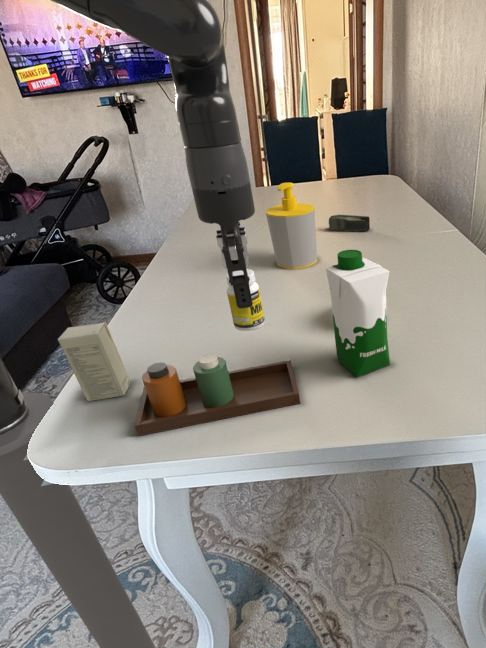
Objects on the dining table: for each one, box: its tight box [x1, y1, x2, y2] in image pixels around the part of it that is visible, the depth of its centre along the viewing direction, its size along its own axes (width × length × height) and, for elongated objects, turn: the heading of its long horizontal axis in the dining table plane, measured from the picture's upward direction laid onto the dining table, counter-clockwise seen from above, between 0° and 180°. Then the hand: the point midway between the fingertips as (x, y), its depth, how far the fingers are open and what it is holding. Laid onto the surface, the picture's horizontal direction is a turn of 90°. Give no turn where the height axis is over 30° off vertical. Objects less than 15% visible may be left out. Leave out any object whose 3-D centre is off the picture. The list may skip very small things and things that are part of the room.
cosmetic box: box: [57, 321, 131, 402], centre depth 78 cm, size 6×4×12 cm
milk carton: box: [325, 249, 391, 378], centre depth 80 cm, size 9×9×20 cm
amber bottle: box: [141, 362, 186, 417], centre depth 73 cm, size 5×5×8 cm
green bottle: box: [192, 353, 234, 407], centre depth 75 cm, size 5×5×8 cm
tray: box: [134, 359, 301, 437], centre depth 77 cm, size 25×11×2 cm, turn 105°
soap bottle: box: [265, 182, 318, 270], centre depth 127 cm, size 13×13×21 cm
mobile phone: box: [324, 214, 371, 232], centre depth 154 cm, size 5×3×15 cm
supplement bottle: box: [225, 268, 266, 332], centre depth 70 cm, size 5×5×8 cm
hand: (244, 298), depth 70 cm, fingers closed on supplement bottle, 4 cm apart
